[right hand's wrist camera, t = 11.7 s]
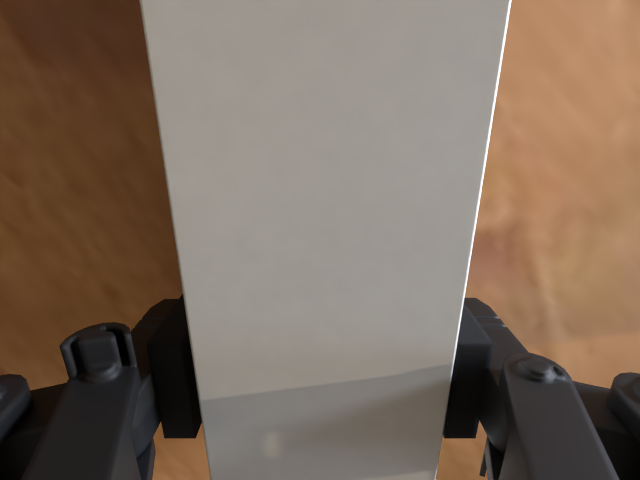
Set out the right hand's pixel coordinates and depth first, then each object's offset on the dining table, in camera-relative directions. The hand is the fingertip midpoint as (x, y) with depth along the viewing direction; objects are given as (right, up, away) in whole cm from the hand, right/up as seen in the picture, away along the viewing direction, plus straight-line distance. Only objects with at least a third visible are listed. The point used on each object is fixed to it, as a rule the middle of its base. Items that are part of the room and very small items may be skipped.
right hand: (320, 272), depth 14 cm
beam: (0, +32, -10) cm, 34 cm away
